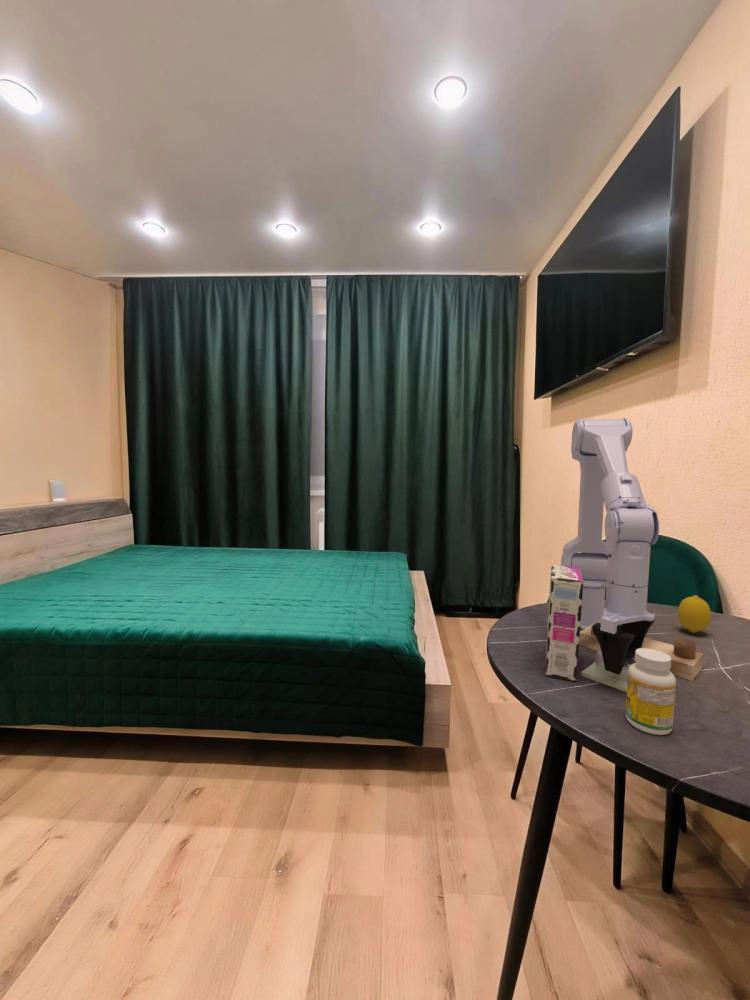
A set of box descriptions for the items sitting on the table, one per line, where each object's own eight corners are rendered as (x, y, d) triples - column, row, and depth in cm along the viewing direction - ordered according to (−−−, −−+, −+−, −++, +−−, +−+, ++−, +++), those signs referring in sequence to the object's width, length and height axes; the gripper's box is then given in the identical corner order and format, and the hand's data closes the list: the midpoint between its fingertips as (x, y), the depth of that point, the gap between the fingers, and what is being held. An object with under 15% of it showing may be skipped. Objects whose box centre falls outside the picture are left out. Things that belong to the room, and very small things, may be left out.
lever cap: (594, 670, 71) (596, 647, 70) (605, 662, 74) (606, 640, 73) (642, 687, 66) (644, 662, 65) (652, 678, 68) (653, 653, 68)
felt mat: (580, 675, 70) (581, 672, 70) (602, 659, 76) (602, 656, 76) (643, 698, 64) (643, 694, 63) (661, 678, 70) (661, 675, 69)
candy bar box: (579, 683, 68) (584, 581, 66) (545, 676, 70) (549, 578, 68) (575, 654, 78) (580, 566, 77) (546, 649, 80) (550, 563, 79)
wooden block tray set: (578, 644, 82) (579, 620, 82) (593, 635, 87) (594, 612, 86) (692, 681, 69) (694, 651, 68) (702, 667, 74) (704, 639, 73)
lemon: (703, 630, 91) (706, 593, 90) (714, 640, 85) (717, 601, 85) (672, 626, 92) (675, 590, 92) (681, 636, 87) (684, 597, 87)
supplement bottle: (669, 742, 54) (675, 668, 53) (621, 724, 57) (625, 655, 56) (674, 722, 58) (679, 653, 57) (629, 707, 61) (633, 642, 60)
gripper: (639, 597, 61) (633, 689, 62) (669, 580, 70) (663, 659, 72) (588, 586, 66) (583, 671, 67) (622, 571, 76) (617, 646, 77)
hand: (621, 664), depth 70 cm, fingers open, 7 cm apart
